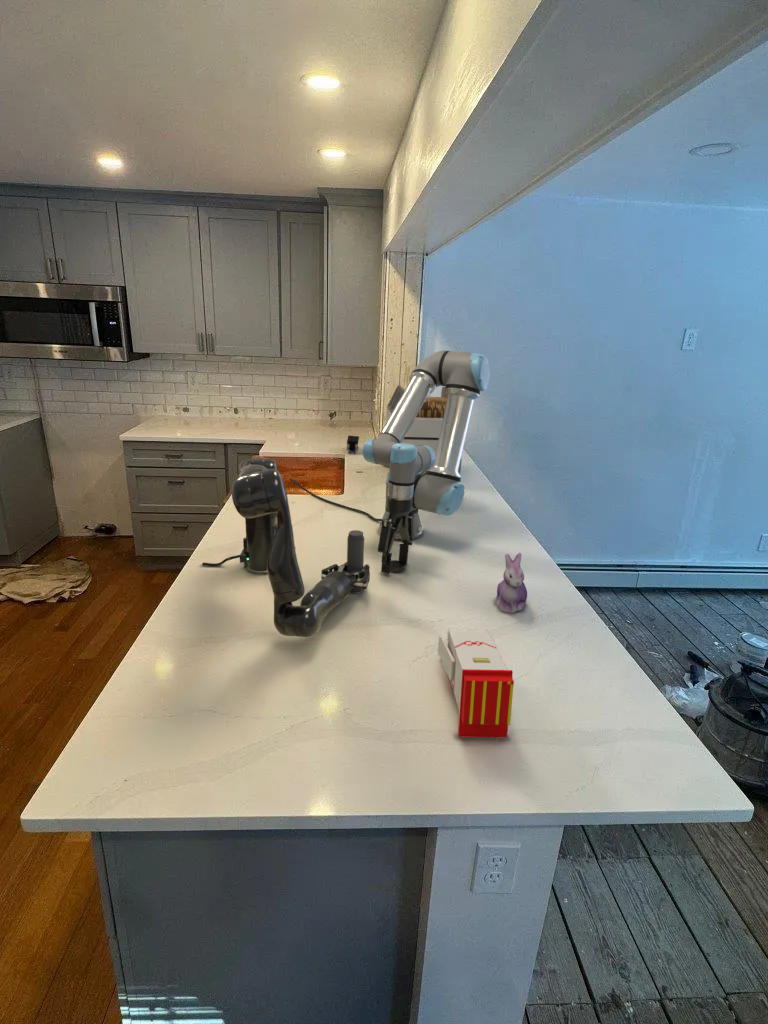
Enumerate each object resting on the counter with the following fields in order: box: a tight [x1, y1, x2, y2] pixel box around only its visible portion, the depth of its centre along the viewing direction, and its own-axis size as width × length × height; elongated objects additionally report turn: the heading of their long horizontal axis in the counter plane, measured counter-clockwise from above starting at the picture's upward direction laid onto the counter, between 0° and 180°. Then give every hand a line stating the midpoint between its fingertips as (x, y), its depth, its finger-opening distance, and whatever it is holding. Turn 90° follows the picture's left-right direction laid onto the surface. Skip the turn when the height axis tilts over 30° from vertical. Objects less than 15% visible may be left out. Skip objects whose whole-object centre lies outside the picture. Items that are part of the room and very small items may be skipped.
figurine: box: [495, 552, 528, 614], centre depth 152 cm, size 9×10×15 cm
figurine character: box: [346, 435, 360, 455], centre depth 309 cm, size 7×8×15 cm
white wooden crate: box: [383, 384, 463, 476], centre depth 268 cm, size 34×33×41 cm
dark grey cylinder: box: [346, 529, 365, 594], centre depth 156 cm, size 5×5×17 cm
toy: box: [437, 628, 515, 738], centre depth 117 cm, size 12×13×30 cm
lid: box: [390, 559, 406, 574], centre depth 173 cm, size 6×6×2 cm
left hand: (358, 565), depth 160 cm, fingers closed on dark grey cylinder, 4 cm apart
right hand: (394, 568), depth 172 cm, fingers open, 8 cm apart
